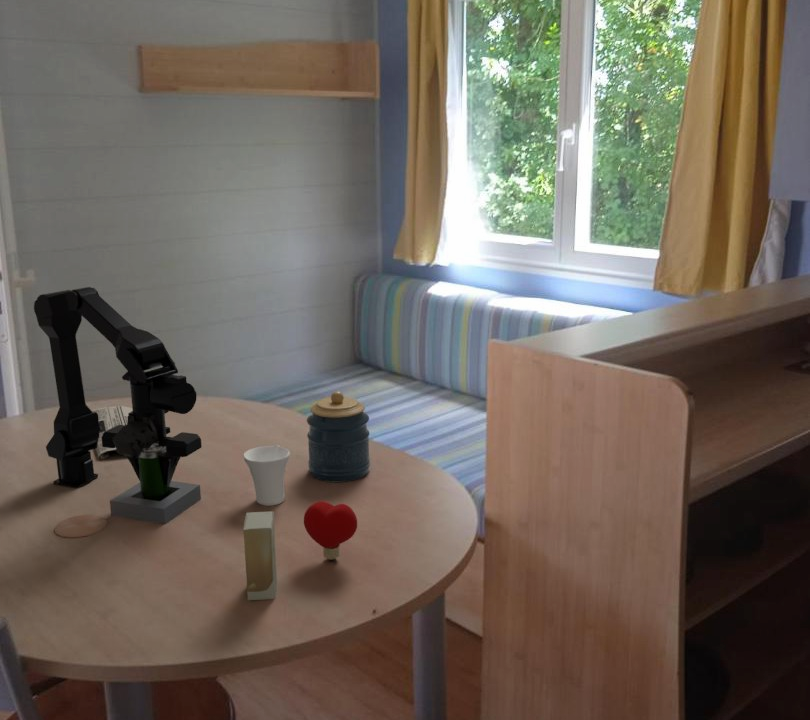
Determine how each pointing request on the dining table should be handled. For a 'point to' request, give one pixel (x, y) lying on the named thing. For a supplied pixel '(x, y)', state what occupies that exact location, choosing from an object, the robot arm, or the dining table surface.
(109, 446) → the robot arm
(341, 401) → the canister
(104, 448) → the newspaper
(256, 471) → the cup
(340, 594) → the dining table surface
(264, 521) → the skincare box
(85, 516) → the coaster
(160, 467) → the beer can
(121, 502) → the square frame
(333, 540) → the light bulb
